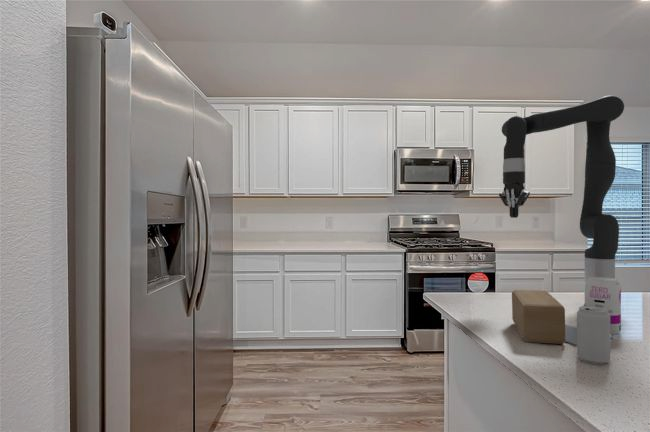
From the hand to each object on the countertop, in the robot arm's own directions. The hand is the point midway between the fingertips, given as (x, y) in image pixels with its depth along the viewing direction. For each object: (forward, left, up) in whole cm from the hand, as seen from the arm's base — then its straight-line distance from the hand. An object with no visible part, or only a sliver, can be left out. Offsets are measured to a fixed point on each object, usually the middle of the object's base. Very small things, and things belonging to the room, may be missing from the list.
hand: (513, 217), depth 152 cm
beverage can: (+30, +52, -32) cm, 68 cm away
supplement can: (+5, +37, -32) cm, 49 cm away
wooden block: (+18, +24, -26) cm, 40 cm away
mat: (+17, +34, -32) cm, 50 cm away
